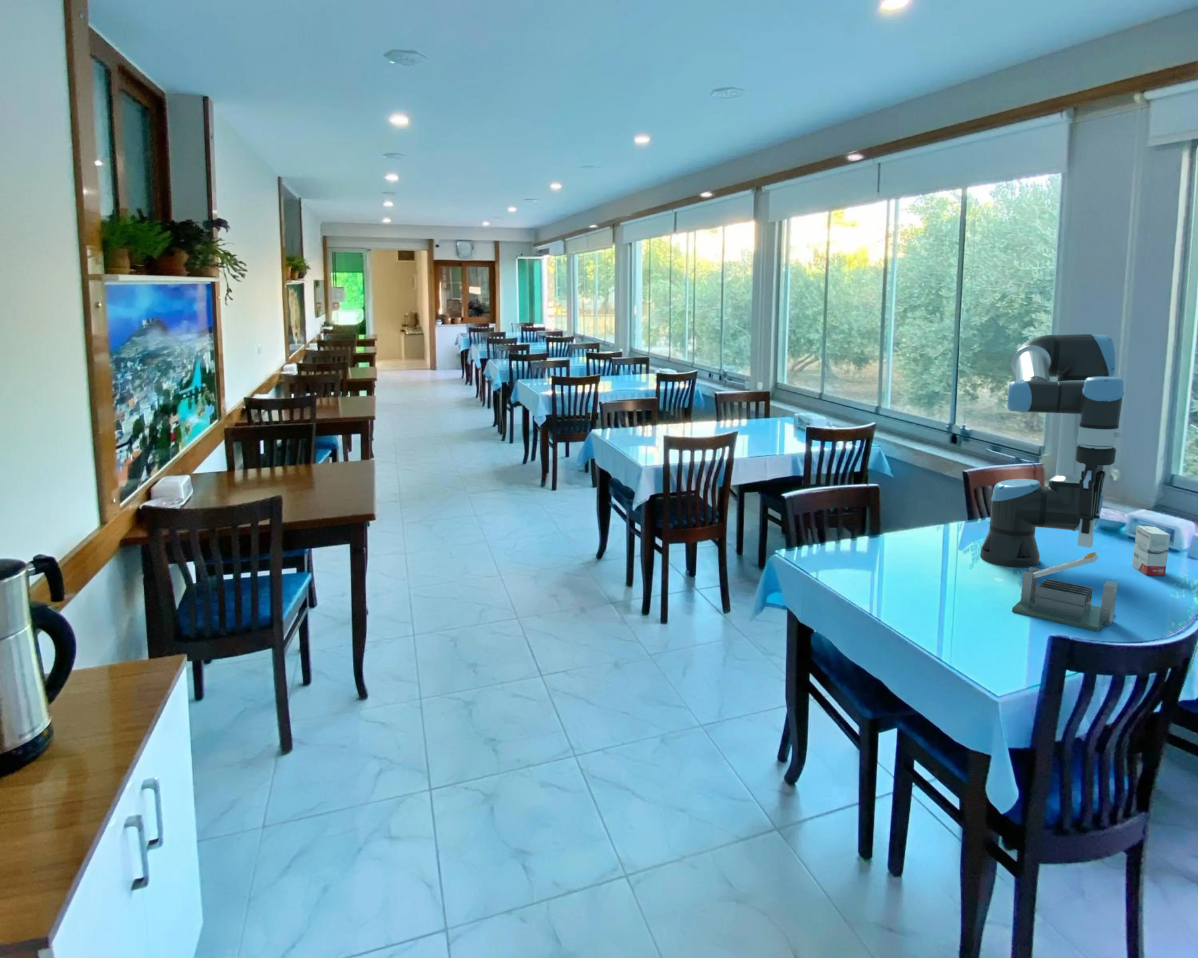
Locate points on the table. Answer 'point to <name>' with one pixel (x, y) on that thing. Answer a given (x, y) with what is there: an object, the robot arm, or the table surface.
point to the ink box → (1151, 550)
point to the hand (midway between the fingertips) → (1084, 545)
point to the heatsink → (1066, 602)
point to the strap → (1066, 565)
